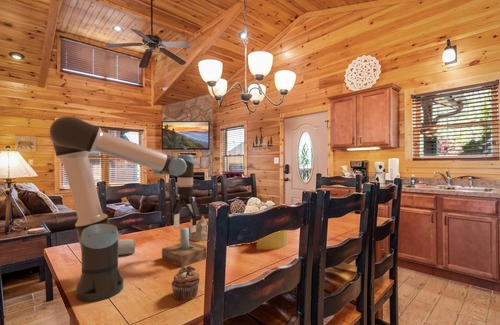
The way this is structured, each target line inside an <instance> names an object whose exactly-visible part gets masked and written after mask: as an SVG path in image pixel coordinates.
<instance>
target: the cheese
mask: <svg viewBox="0 0 500 325" xmlns="http://www.w3.org/2000/svg"><path fill="white" fill-rule="evenodd" d="M255 243H256V242H254V243H253V244H255ZM288 244H289V230H288V231H280V232H277V233H274V234H271V235H269V236H267V237H265V238H263V239H261V240H258V241H257V243H256V250H277V249H282V248H285V247H286V246H288Z"/></svg>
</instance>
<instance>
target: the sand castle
mask: <svg viewBox="0 0 500 325" xmlns="http://www.w3.org/2000/svg"><path fill="white" fill-rule="evenodd" d="M208 221H209V220H206V218H205V216H204V215H201V217H200V220H198V222H197V224H196V232H192V233H191V232H190V226H189V227H188V228H189V239H190V240H189V241H191V242H198V241H202V242H208V241H207V225H208Z"/></svg>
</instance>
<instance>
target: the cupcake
mask: <svg viewBox="0 0 500 325" xmlns="http://www.w3.org/2000/svg"><path fill="white" fill-rule="evenodd" d="M170 285H171V288H172V289H171V290H172V294H173V298H174V299H175V300H176V301H179V302H188V301H189V300H192V299H195V298H196V296H197V295H198V290H199V285H200V274H199V273H198V272H197V271H196V268H194V267H193V266H192V264H189V265H187V267H185V266H184V267H180V269H179V270H178V271H177V273H176V274H175V275H173V280H172V282H171V283H170Z"/></svg>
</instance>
